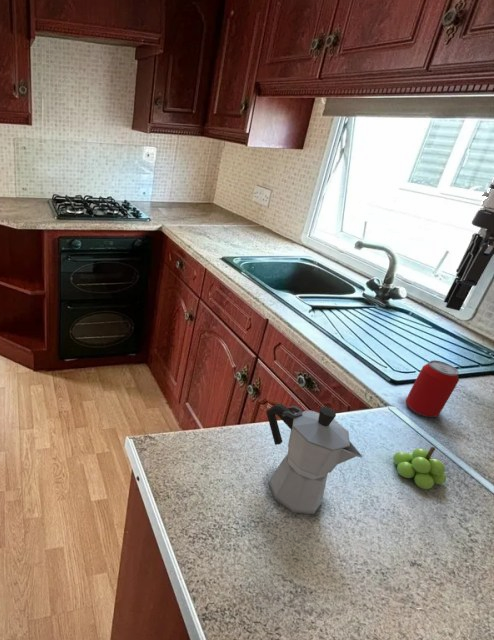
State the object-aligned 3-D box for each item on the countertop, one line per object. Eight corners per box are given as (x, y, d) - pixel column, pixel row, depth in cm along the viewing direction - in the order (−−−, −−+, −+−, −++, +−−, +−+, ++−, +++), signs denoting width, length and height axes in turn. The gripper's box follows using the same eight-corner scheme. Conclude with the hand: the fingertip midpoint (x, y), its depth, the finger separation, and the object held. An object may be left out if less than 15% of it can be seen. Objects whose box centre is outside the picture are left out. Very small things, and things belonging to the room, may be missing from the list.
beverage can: (436, 407, 96) (459, 365, 90) (439, 423, 90) (465, 380, 85) (403, 396, 98) (424, 355, 93) (404, 411, 93) (427, 368, 88)
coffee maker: (341, 503, 68) (382, 422, 60) (320, 534, 63) (362, 449, 55) (262, 450, 78) (288, 373, 70) (237, 473, 72) (263, 392, 64)
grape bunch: (429, 464, 78) (446, 436, 75) (450, 498, 72) (470, 468, 68) (385, 455, 80) (400, 427, 76) (402, 487, 73) (419, 458, 69)
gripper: (473, 202, 97) (430, 291, 107) (486, 212, 84) (436, 312, 95) (512, 209, 94) (464, 299, 104) (532, 220, 81) (475, 322, 91)
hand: (451, 305), depth 99 cm, fingers open, 3 cm apart
